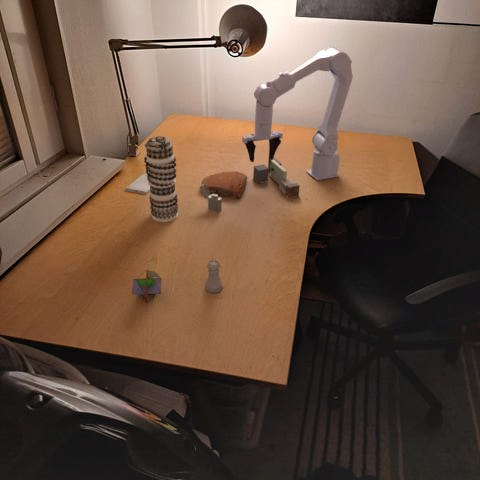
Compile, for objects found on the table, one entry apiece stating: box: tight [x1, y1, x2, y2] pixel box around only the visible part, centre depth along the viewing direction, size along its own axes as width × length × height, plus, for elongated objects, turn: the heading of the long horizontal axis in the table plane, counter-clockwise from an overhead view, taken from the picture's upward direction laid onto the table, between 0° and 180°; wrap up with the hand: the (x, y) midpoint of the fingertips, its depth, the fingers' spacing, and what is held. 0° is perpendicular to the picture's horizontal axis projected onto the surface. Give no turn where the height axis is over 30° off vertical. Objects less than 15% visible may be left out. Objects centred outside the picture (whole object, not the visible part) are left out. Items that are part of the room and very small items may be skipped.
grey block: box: [252, 164, 269, 184], centre depth 162 cm, size 4×4×5 cm
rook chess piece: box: [204, 259, 224, 294], centre depth 110 cm, size 4×4×8 cm
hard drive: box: [125, 173, 150, 195], centre depth 159 cm, size 2×8×12 cm
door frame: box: [267, 156, 300, 199], centre depth 160 cm, size 4×22×6 cm, turn 23°
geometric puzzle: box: [131, 269, 162, 303], centre depth 108 cm, size 7×7×8 cm
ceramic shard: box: [200, 171, 248, 200], centre depth 157 cm, size 15×6×15 cm
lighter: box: [199, 183, 222, 213], centre depth 144 cm, size 7×2×8 cm, turn 64°
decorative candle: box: [143, 136, 179, 223], centre depth 135 cm, size 9×9×25 cm
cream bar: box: [269, 160, 288, 185], centre depth 160 cm, size 2×10×6 cm, turn 23°
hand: (261, 159), depth 159 cm, fingers open, 7 cm apart
